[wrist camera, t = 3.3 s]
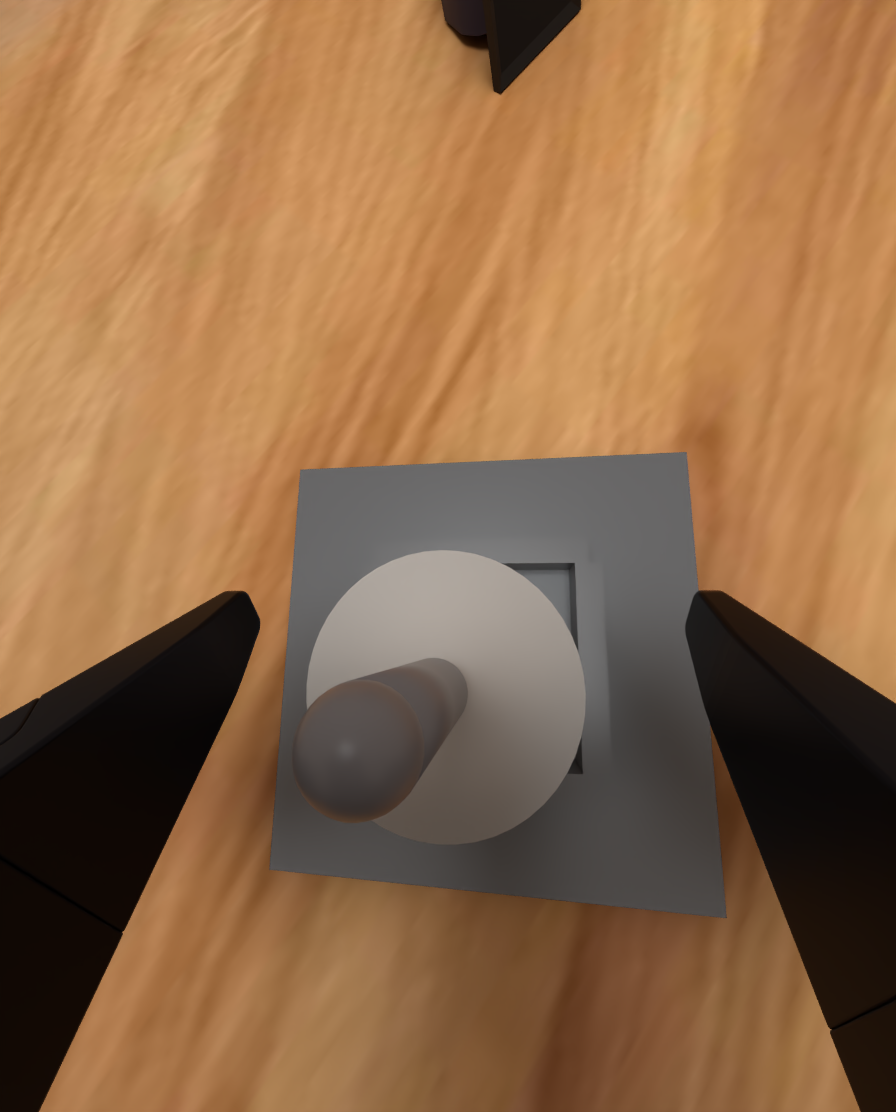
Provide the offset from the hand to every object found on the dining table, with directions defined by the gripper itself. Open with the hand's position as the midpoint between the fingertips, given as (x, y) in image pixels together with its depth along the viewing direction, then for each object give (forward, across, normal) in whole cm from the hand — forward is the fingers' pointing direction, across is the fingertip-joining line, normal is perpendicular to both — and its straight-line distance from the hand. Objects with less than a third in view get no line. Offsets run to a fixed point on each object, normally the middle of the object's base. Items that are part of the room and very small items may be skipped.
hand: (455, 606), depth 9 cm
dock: (+4, 0, +6) cm, 7 cm away
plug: (+3, 0, +5) cm, 6 cm away
